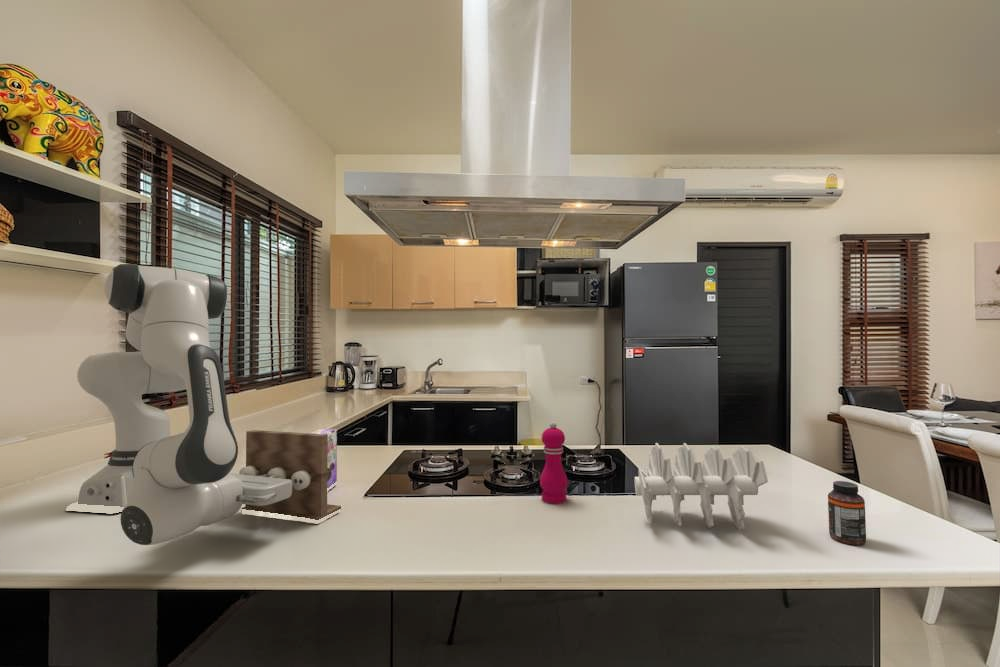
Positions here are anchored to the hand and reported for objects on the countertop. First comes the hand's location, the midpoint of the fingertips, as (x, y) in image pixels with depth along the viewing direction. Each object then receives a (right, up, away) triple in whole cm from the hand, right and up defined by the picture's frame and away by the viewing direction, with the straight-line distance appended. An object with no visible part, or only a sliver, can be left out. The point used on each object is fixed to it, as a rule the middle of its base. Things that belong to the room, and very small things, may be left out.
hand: (273, 477), depth 103 cm
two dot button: (+8, -2, -1) cm, 8 cm away
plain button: (+1, -2, +3) cm, 3 cm away
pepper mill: (+66, -10, +13) cm, 68 cm away
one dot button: (-6, -2, +4) cm, 8 cm away
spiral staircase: (+95, -9, -3) cm, 95 cm away
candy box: (+2, -11, +20) cm, 23 cm away
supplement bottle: (+122, -9, -12) cm, 123 cm away
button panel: (+2, -10, +5) cm, 11 cm away
